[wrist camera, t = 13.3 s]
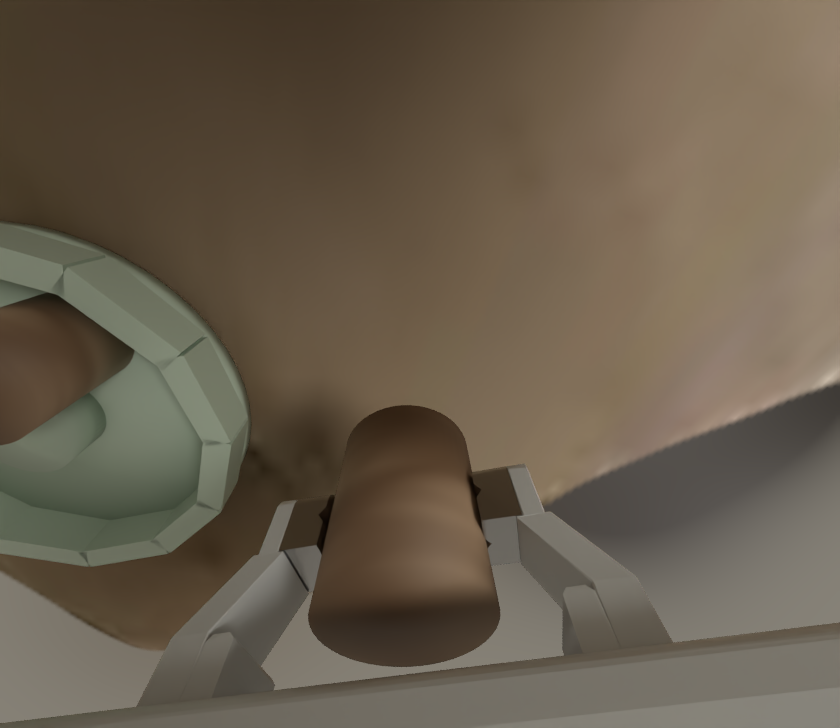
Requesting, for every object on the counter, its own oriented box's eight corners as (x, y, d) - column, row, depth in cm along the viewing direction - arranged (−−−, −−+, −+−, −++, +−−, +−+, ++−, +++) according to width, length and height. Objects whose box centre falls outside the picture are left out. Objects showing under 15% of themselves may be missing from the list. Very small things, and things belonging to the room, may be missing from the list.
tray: (147, 180, 14) (86, 179, 11) (296, 490, 22) (281, 534, 19) (-245, 266, 15) (-387, 285, 12) (33, 537, 22) (-17, 585, 20)
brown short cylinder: (458, 395, 11) (490, 549, 6) (473, 487, 13) (507, 655, 8) (330, 417, 11) (278, 579, 7) (364, 504, 13) (341, 675, 9)
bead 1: (22, 345, 16) (-127, 410, 11) (42, 269, 14) (-118, 309, 10) (119, 388, 17) (20, 463, 12) (146, 323, 16) (46, 380, 11)
